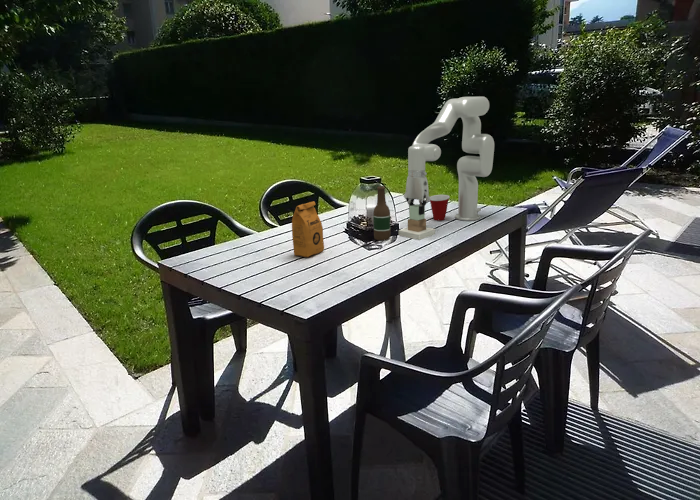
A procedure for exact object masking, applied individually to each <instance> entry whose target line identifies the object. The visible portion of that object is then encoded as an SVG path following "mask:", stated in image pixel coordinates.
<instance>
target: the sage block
mask: <svg viewBox="0 0 700 500" xmlns="http://www.w3.org/2000/svg"><path fill="white" fill-rule="evenodd" d="M414 204H415V203H414ZM419 206H420V204H419V203H418V204H417V203H416V204H415V205H412V206H409V205H408V213H409V215H408V216H409V217H408V219H413V220H421V219H426V218H425V217H426V214H425V213H426V205H425V206H424V214H422V215H419Z"/></svg>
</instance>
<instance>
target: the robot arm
mask: <svg viewBox="0 0 700 500" xmlns="http://www.w3.org/2000/svg"><path fill="white" fill-rule="evenodd" d="M488 99H489V98H487V97H485V96H462V97H459V98H450V99H448V100H446V101H445V103H444V105H443V106H442V108H441V110H440V112H439V113H438V115H437V117H436V119H435V120H434V122H432V124H430V125H429V126H427V127H426V128H424V130H422V131H421V132H420V133H419V134H417V136H416V138H415V139H414V140H413V142H412V145H411V146H409V147H408V148H407V149H408V151H407V153H408V154H407V155H408V156H407V159H408V160H407V164H408V166H407V167H408V170H407V173H408V175H407V178H406V183H405V193H404V195H403V198H404V199H405V200H406V202H407V205H408V207H409V206H412V205H415V200H418V204H419V205H420V206H419V215H422V214H424V206H425V207H426V205H427V204H428V203H429V202H430V195H429V191H430V190H429V182H428V179H427V174H428V173H427V172H426V162H435V161H437V160H438V159H439V158H440V157H441V154H442V150H441V148H440V146H438V145H437V144H433V143H431V142H432V141H434V140H436V139H439V138H441V137H445V136H447V135H448V134H450V132H451V131H452V129H453V127H454V126H455V124H456V122H457V120H458V119H459V118H461V120H462V139H461V140H462V141H461V149H462V151H463V152H465V153H467V154H476V155H477V154H479V156H476V155H465V156H462V157H460V158H459V159H458V160H457V163H456V169H457V174H458V202H457V203H458V204H457V205H458V208H457V209H458V212H457V214H455V215H454V218H455V219H456V220H458V221H463V222H464V221H465V222H467V221H468V222H469V221H477V220H480V219H481V215H480V214H478V213H479V212H481V211H482V208H481V207H478V198H479V195H478V194H479V193H478V192H479V182H478V179H477V177H482V178H485V177H488V176H489V175H490V174H491V173H492V170H493V165H494V164H493V163H494V156H495V155H494V154H495V153H494V152H495V141H494V138H493V136H491V135H490V134H488V133H482V131H481V130H482V122H481V119H480V116H484V115H486V113H488V111H489V109H490V101H489V100H488Z"/></svg>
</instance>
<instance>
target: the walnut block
mask: <svg viewBox="0 0 700 500" xmlns="http://www.w3.org/2000/svg"><path fill="white" fill-rule="evenodd" d="M407 227H408V230H410V231H415V232H420V231H423V230H426V227H427V218H425V219H421V220H413V219H409V218H408V219H407Z"/></svg>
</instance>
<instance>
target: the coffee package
mask: <svg viewBox="0 0 700 500" xmlns="http://www.w3.org/2000/svg"><path fill="white" fill-rule="evenodd" d="M315 206H316V202H315V201H309V202H307V203H302V204H299V205H297V206H296V207H295V210H294V213H293V215H292V219H291V233H292V234H291V235H292V237H291V238H292V247H293V254H294V256H299V257H305V258H306V257H307V258H309V257H310V256H313V255H316V254H317V255H318V254H320V253H322V252H324V249H325V243H324V242H325V241H324V229H323V224H322V221H321V219H320V216H319V215H318V213H317V210H316V208H315Z"/></svg>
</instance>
